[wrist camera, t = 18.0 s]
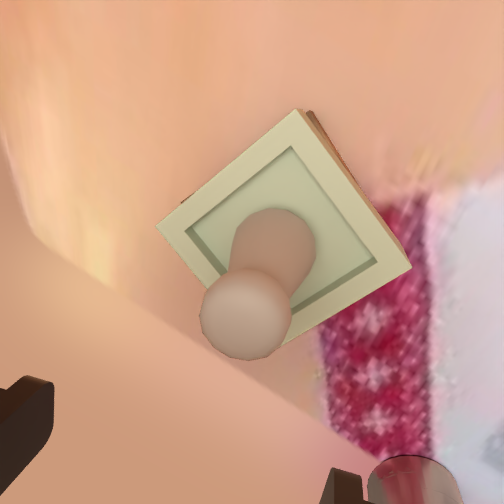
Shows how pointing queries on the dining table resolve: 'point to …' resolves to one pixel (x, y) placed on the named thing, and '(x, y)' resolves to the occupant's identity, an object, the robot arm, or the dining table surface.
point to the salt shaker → (258, 285)
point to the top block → (302, 205)
